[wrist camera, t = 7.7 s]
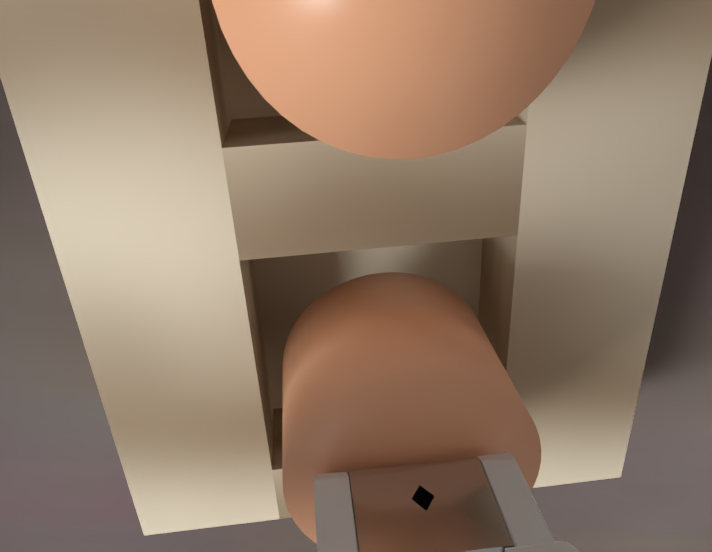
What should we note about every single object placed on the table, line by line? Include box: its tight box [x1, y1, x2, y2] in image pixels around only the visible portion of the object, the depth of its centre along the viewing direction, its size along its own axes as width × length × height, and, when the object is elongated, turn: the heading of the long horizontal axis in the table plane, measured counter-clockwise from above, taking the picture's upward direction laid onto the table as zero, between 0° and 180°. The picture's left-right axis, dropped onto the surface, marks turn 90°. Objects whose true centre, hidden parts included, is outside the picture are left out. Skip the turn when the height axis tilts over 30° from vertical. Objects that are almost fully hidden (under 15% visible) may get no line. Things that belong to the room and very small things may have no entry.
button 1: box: [282, 272, 541, 544], centre depth 10 cm, size 4×4×3 cm
